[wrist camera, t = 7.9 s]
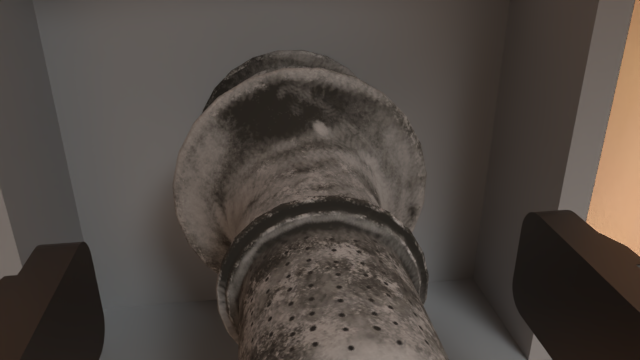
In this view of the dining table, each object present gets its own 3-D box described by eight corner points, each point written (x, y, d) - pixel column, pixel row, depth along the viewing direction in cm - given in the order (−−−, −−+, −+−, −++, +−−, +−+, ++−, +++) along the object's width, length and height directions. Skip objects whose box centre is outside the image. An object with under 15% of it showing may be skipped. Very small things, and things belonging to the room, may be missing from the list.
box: (-13, -82, 13) (-126, -87, 9) (540, -84, 15) (654, -88, 11) (80, 321, 18) (34, 434, 14) (487, 287, 20) (550, 379, 16)
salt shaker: (310, 261, 18) (412, 785, 7) (147, 164, 16) (-74, 688, 5) (431, 118, 16) (810, 501, 5) (267, -9, 14) (343, 188, 3)
